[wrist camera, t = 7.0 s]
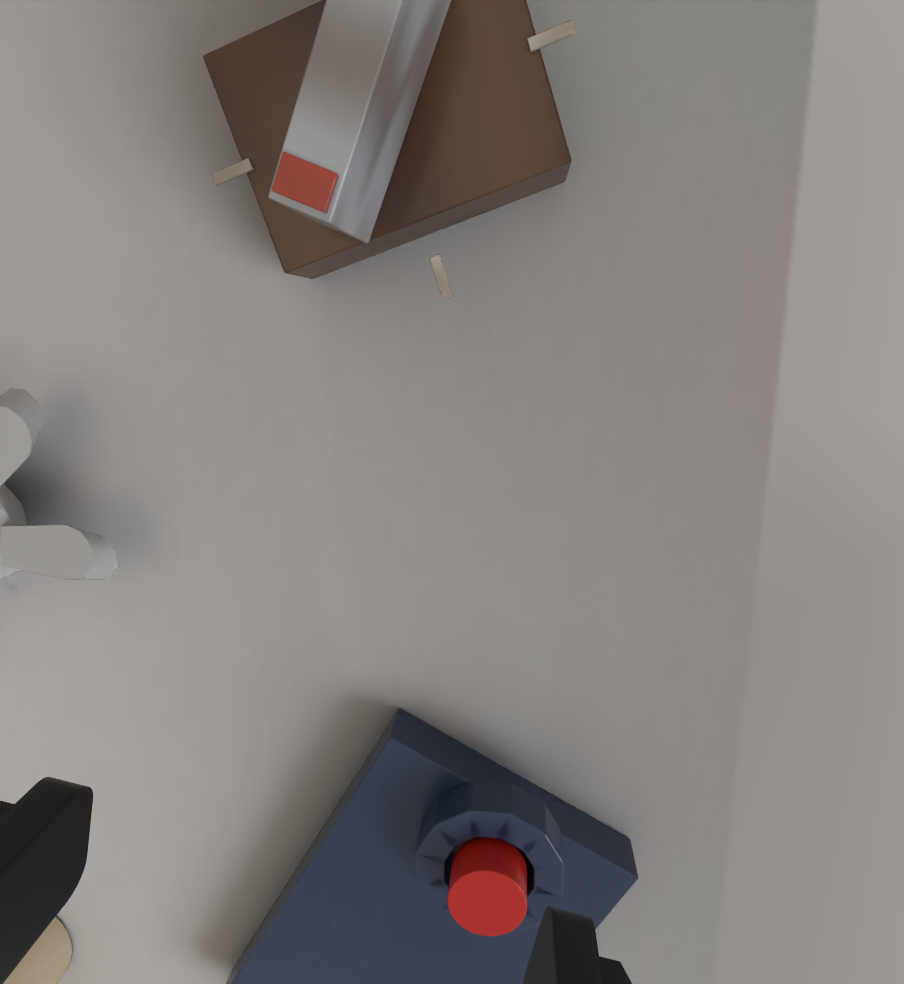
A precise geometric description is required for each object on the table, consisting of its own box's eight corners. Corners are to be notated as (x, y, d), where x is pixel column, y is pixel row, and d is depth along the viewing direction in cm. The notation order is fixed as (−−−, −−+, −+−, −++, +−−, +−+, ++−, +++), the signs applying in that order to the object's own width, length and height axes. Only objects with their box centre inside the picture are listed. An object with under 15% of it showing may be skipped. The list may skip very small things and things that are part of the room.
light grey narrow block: (403, -44, 20) (367, -158, 15) (459, -21, 20) (440, -128, 15) (318, 223, 22) (263, 195, 17) (368, 244, 22) (327, 222, 17)
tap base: (512, -133, 22) (510, -208, 19) (616, 243, 24) (630, 231, 21) (184, 23, 24) (134, -21, 21) (310, 355, 26) (282, 358, 23)
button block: (409, 691, 29) (392, 746, 25) (642, 824, 30) (661, 898, 26) (231, 969, 34) (194, 1051, 30) (434, 1080, 35) (423, 1175, 31)
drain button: (475, 823, 26) (472, 857, 25) (541, 860, 26) (542, 897, 25) (438, 875, 27) (433, 912, 25) (502, 910, 27) (500, 949, 26)
